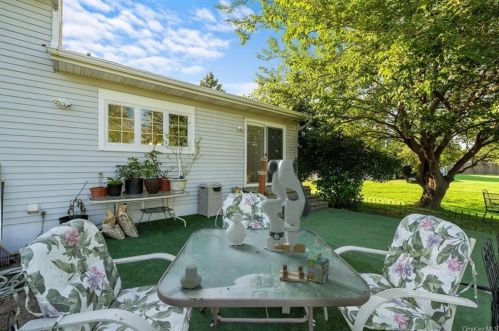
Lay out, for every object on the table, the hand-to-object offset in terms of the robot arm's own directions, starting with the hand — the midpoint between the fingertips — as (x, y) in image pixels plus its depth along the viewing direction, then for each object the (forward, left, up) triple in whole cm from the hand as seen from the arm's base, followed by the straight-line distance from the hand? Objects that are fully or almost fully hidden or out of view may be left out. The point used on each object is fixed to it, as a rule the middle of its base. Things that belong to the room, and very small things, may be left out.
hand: (291, 249), depth 143 cm
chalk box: (0, +15, -16) cm, 22 cm away
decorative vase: (-57, -43, -16) cm, 73 cm away
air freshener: (+21, -52, -16) cm, 58 cm away
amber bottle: (-2, -1, -1) cm, 2 cm away
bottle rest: (0, +1, -16) cm, 16 cm away
